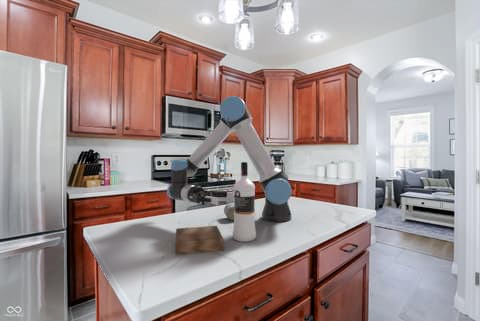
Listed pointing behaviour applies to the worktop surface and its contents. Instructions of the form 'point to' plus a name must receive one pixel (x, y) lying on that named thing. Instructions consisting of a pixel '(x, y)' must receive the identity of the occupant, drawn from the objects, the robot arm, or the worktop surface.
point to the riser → (198, 240)
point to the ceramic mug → (229, 211)
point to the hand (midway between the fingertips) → (229, 198)
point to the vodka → (244, 207)
